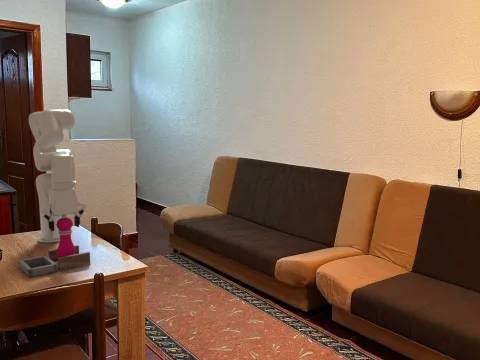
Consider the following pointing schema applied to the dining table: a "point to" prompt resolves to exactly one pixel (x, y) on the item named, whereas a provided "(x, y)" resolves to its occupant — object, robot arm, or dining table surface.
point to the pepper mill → (65, 237)
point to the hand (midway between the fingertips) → (64, 228)
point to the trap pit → (37, 266)
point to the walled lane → (70, 259)
